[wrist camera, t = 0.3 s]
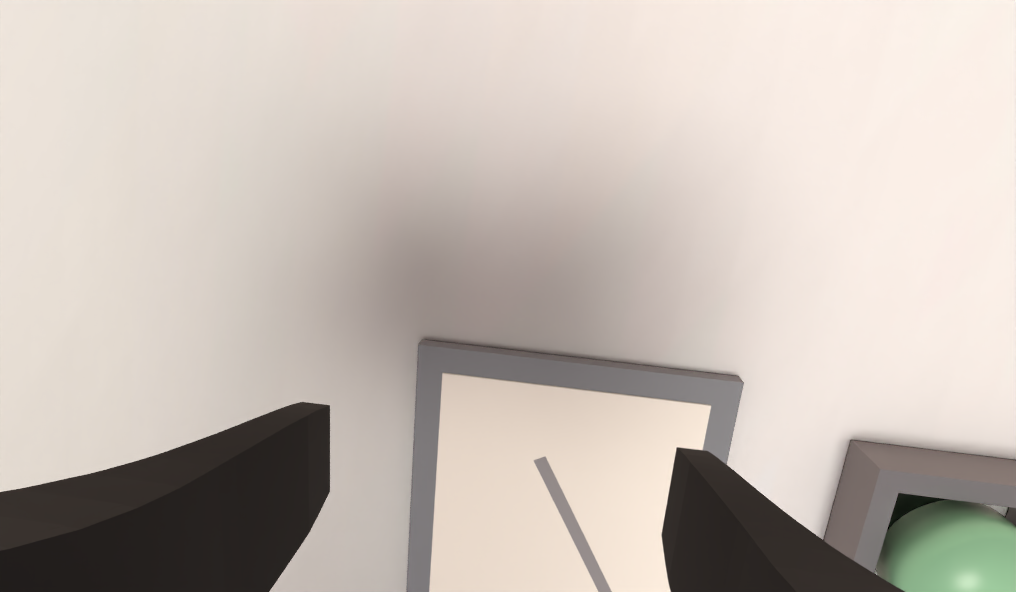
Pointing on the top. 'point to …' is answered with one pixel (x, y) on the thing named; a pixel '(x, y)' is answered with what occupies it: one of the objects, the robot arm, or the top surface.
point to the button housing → (907, 490)
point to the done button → (950, 550)
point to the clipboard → (551, 468)
